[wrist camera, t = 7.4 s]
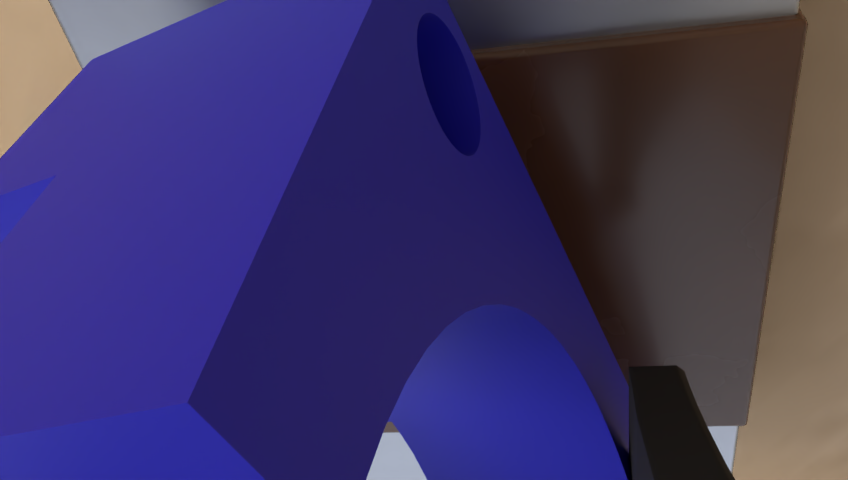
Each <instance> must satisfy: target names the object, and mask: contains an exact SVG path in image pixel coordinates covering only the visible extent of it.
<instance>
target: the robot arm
mask: <svg viewBox="0 0 848 480" xmlns="http://www.w3.org/2000/svg"><path fill="white" fill-rule="evenodd" d="M629 459H630V469H631V479H632V480H735V479H734V477H733V475H732V473H731V471H730V470H729V468H728V466H727V464H726V462H725V460H724V458H723V456H722V454H721V453H720V451H719V449H718V447H717V445H716V443H715V441H714V439H713V437H712V435H711V433H710V431H709V429H708V427H707V424H706V422H705V420H704V418H703V416H702V414H701V412H700V409H699V407H698V405H697V402H696V400H695V398H694V395H693V393H692V390H691V388H690V385H689V383H688V380H687V377H686V374H685V371H684V370H682V369H681V368H679V367H678V366H677V365H669V366H639V367H629Z"/></svg>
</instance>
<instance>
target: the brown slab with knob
mask: <svg viewBox="0 0 848 480" xmlns="http://www.w3.org/2000/svg"><path fill="white" fill-rule="evenodd" d="M48 1H49V3H50V5H51V7H52V9H53V11H54V13H55V15H56V17H57V19H58V21H59V23H60V25H61V27H62V29H63V31H64V33H65V35H66V37H67V39H68V41H69V43H70V46H71V48H72V50H73V52H74V54H75V56H76V58H77V60H78V62H79V64H80V66H81V68H82V70H83V68H84V67H85V66H86V65H87V64H88V63H89V62H90V61H91V60H92V59H94V58H96V57H98V56H101V55H103V54H105V53H108V52H110V51H112V50H114V49H117V48H119V47H121V46H123V45H126V44H128V43H130V42H133V41H135V40H137V39H139V38H142V37H144V36H146V35H149V34H151V33H153V32H155V31H158V30H160V29H162V28H164V27H167V26H169V25H171V24H174V23H176V22H178V21H180V20H183V19H185V18H187V17H190V16H192V15H194V14H196V13H199V12H201V11H203V10H206V9H208V8H210V7H212V6H215V5H217V4H219V3H221V2H224V1H226V0H48ZM447 2H448V4H449V6H450V8H451V10H452V12H453V14H454V16H455V19H456V21H457V23H458V25H459V27H460V29H461V31H462V33H463V36H464V38H465V40H466V42H467V44H468V46H469V48H470V50H471V53H472V55H473V57H474V59H475V61H476V63H477V65H478V67H479V70H480V72H481V74H482V76H483V78H484V80H485V82H486V84H487V87H488V89H489V91H490V93H491V95H492V97H493V99H494V101H495V104H496V106H497V108H498V110H499V112H500V114H501V116H502V118H503V121H504V123H505V125H506V127H507V129H508V131H509V133H510V135H511V138H512V140H513V142H514V144H515V146H516V148H517V150H518V152H519V155H520V157H521V159H522V161H523V163H524V165H525V167H526V169H527V172H528V174H529V176H530V178H531V180H532V182H533V184H534V186H535V189H536V191H537V193H538V195H539V197H540V199H541V201H542V203H543V205H544V208H545V210H546V212H547V214H548V216H549V218H550V220H551V222H552V225H553V227H554V229H555V231H556V233H557V235H558V237H559V239H560V242H561V244H562V246H563V248H564V250H565V252H566V254H567V256H568V259H569V261H570V263H571V265H572V267H573V269H574V271H575V273H576V276H577V278H578V280H579V282H580V284H581V286H582V288H583V290H584V293H585V295H586V297H587V299H588V301H589V303H590V305H591V307H592V310H593V312H594V314H595V316H596V318H597V320H598V322H599V324H600V327H601V329H602V331H603V333H604V335H605V337H606V339H607V341H608V344H609V346H610V348H611V350H612V352H613V354H614V356H615V358H616V361H617V363H618V365H619V367H620V369H621V371H622V373H623V375H624V378H625V380H626V382H627V384H628V386H629V367H639V366H669V365H677V366H678V367H679V368H681V369H682V370H684V371H685V374H686V377H687V380H688V383H689V385H690V388H691V390H692V393H693V395H694V398H695V400H696V402H697V405H698V407H699V409H700V412H701V414H702V416H703V418H704V420H705V422H706V424H707V427H708V429H709V431H710V433H711V435H712V437H713V439H714V441H715V443H716V445H717V447H718V449H719V451H720V453H721V454H722V456H723V458H724V460H725V462H726V464H727V466H728V468H729V470H730V471H731V473H732V472H733V465H734V458H735V451H736V444H737V437H738V430H739V426H744V425H746V424H747V420H748V413H749V407H750V400H751V394H752V387H753V381H754V374H755V368H756V361H757V354H758V348H759V341H760V335H761V328H762V322H763V315H764V308H765V302H766V295H767V289H768V282H769V276H770V269H771V263H772V256H773V249H774V243H775V236H776V230H777V223H778V217H779V210H780V203H781V197H782V190H783V184H784V177H785V171H786V164H787V157H788V151H789V144H790V138H791V131H792V125H793V118H794V112H795V105H796V98H797V92H798V85H799V79H800V72H801V66H802V59H803V52H804V46H805V39H806V33H807V26H808V23H807V20H806V18H805V17H804V15H803V14H802V12H801V10H800V9H799V2H800V0H447ZM366 480H427V479H426V477H425V475H424V473H423V471H422V469H421V467H420V465H419V463H418V462H417V460H416V458H415V456H414V454H413V452H412V451H411V449H410V448H409V446H408V445H407V443H406V442H405V440H404V438H403V437H402V435H401V434H400V432H399V431H398V430H397V428H396V427H395V425H394V424H393V423H392V422H387V424H386V426H385V429H384V431H383V434H382V437H381V440H380V443H379V445H378V448H377V451H376V454H375V457H374V459H373V462H372V465H371V468H370V470H369V473H368V476H367V479H366Z"/></svg>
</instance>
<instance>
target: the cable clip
mask: <svg viewBox="0 0 848 480" xmlns="http://www.w3.org/2000/svg"><path fill="white" fill-rule="evenodd" d="M387 422H392V423H393V424H394V425H395V427H396V428H397V430H398V431H399V432H400V434H401V435H402V437H403V438H404V440H405V442H406V443H407V445H408V446H409V448H410V449H411V451H412V452H413V454H414V456H415V458H416V460H417V462H418V463H419V465H420V467H421V469H422V471H423V473H424V475H425V477H426V479H427V480H632V479H631V469H630V459H629V386H628V384H627V382H626V380H625V378H624V375H623V373H622V371H621V369H620V367H619V365H618V363H617V361H616V358H615V356H614V354H613V352H612V350H611V348H610V346H609V344H608V341H607V339H606V337H605V335H604V333H603V331H602V329H601V327H600V324H599V322H598V320H597V318H596V316H595V314H594V312H593V310H592V307H591V305H590V303H589V301H588V299H587V297H586V295H585V293H584V290H583V288H582V286H581V284H580V282H579V280H578V278H577V276H576V273H575V271H574V269H573V267H572V265H571V263H570V261H569V259H568V256H567V254H566V252H565V250H564V248H563V246H562V244H561V242H560V239H559V237H558V235H557V233H556V231H555V229H554V227H553V225H552V222H551V220H550V218H549V216H548V214H547V212H546V210H545V208H544V205H543V203H542V201H541V199H540V197H539V195H538V193H537V191H536V189H535V186H534V184H533V182H532V180H531V178H530V176H529V174H528V172H527V169H526V167H525V165H524V163H523V161H522V159H521V157H520V155H519V152H518V150H517V148H516V146H515V144H514V142H513V140H512V138H511V135H510V133H509V131H508V129H507V127H506V125H505V123H504V121H503V118H502V116H501V114H500V112H499V110H498V108H497V106H496V104H495V101H494V99H493V97H492V95H491V93H490V91H489V89H488V87H487V84H486V82H485V80H484V78H483V76H482V74H481V72H480V70H479V67H478V65H477V63H476V61H475V59H474V57H473V55H472V53H471V50H470V48H469V46H468V44H467V42H466V40H465V38H464V36H463V33H462V31H461V29H460V27H459V25H458V23H457V21H456V19H455V16H454V14H453V12H452V10H451V8H450V6H449V4H448V2H447V0H226V1H224V2H221V3H219V4H217V5H215V6H212V7H210V8H208V9H206V10H203V11H201V12H199V13H196V14H194V15H192V16H190V17H187V18H185V19H183V20H180V21H178V22H176V23H174V24H171V25H169V26H167V27H164V28H162V29H160V30H158V31H155V32H153V33H151V34H149V35H146V36H144V37H142V38H139V39H137V40H135V41H133V42H130V43H128V44H126V45H123V46H121V47H119V48H117V49H114V50H112V51H110V52H108V53H105V54H103V55H101V56H98V57H96V58H94V59H92V60H91V61H90V62H89V63H88V64H87V65H86V66H85V67H84V68H83V70H82V71H81V72H80V73H79V74H78V75H77V76H76V77H75V78H74V79H73V80H72V81H71V83H70V84H69V85H68V86H67V87H66V88H65V89H64V90H63V91H62V92H61V93H60V94H59V96H58V97H57V98H56V99H55V100H54V101H53V102H52V103H51V104H50V105H49V106H48V107H47V108H46V110H45V111H44V112H43V113H42V114H41V115H40V116H39V117H38V118H37V119H36V120H35V121H34V123H33V124H32V125H31V126H30V127H29V128H28V129H27V130H26V131H25V132H24V133H23V134H22V136H21V137H20V138H19V139H18V140H17V141H16V142H15V143H14V144H13V145H12V146H11V147H10V148H9V150H8V151H7V152H6V153H5V154H4V155H3V156H2V157H1V158H0V480H366V479H367V476H368V473H369V470H370V468H371V465H372V462H373V459H374V457H375V454H376V451H377V448H378V445H379V443H380V440H381V437H382V434H383V431H384V429H385V426H386V424H387Z"/></svg>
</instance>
